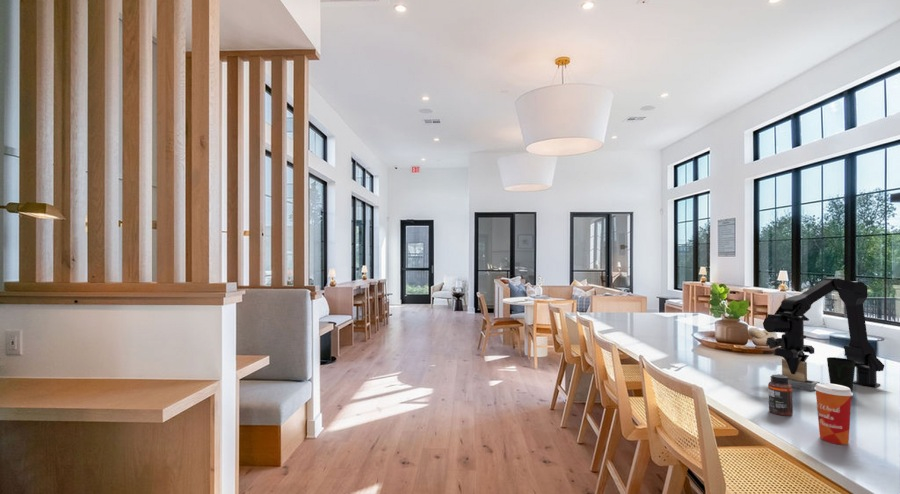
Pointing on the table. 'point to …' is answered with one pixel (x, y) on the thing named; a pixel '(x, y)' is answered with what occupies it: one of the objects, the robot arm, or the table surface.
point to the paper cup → (833, 412)
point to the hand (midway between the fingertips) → (794, 373)
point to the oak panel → (800, 372)
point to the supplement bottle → (780, 396)
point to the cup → (841, 371)
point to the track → (802, 384)
